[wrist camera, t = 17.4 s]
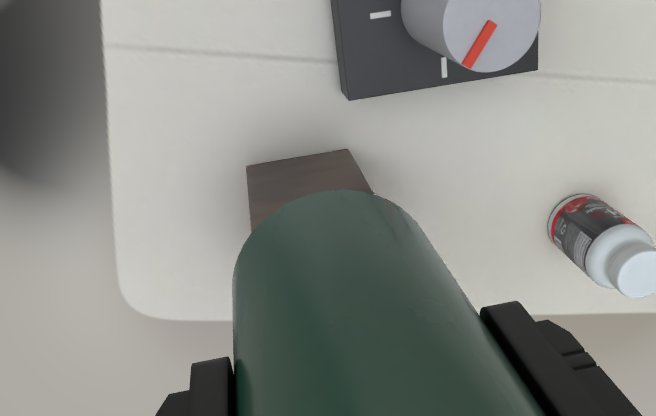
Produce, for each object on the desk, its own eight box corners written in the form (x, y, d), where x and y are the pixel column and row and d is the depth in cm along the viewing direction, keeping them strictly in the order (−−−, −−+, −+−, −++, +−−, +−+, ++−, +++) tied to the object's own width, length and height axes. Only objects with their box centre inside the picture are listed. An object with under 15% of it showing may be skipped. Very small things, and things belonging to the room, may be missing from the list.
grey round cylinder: (428, -56, 41) (482, -55, 32) (496, -13, 42) (563, -1, 34) (385, 22, 42) (425, 43, 34) (451, 62, 44) (505, 91, 35)
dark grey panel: (341, 91, 47) (348, 101, 44) (322, -69, 42) (329, -69, 39) (520, 62, 48) (539, 70, 45) (520, -96, 43) (541, -99, 40)
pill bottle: (608, 188, 53) (684, 238, 44) (601, 244, 55) (672, 302, 47) (548, 196, 53) (613, 247, 44) (543, 252, 55) (604, 312, 46)
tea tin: (251, 383, 17) (271, 722, 10) (213, 209, 15) (201, 476, 7) (438, 346, 17) (592, 642, 10) (427, 172, 15) (613, 389, 8)
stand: (263, 257, 51) (280, 406, 35) (245, 165, 48) (255, 283, 31) (358, 239, 52) (419, 377, 35) (348, 148, 48) (409, 254, 32)
